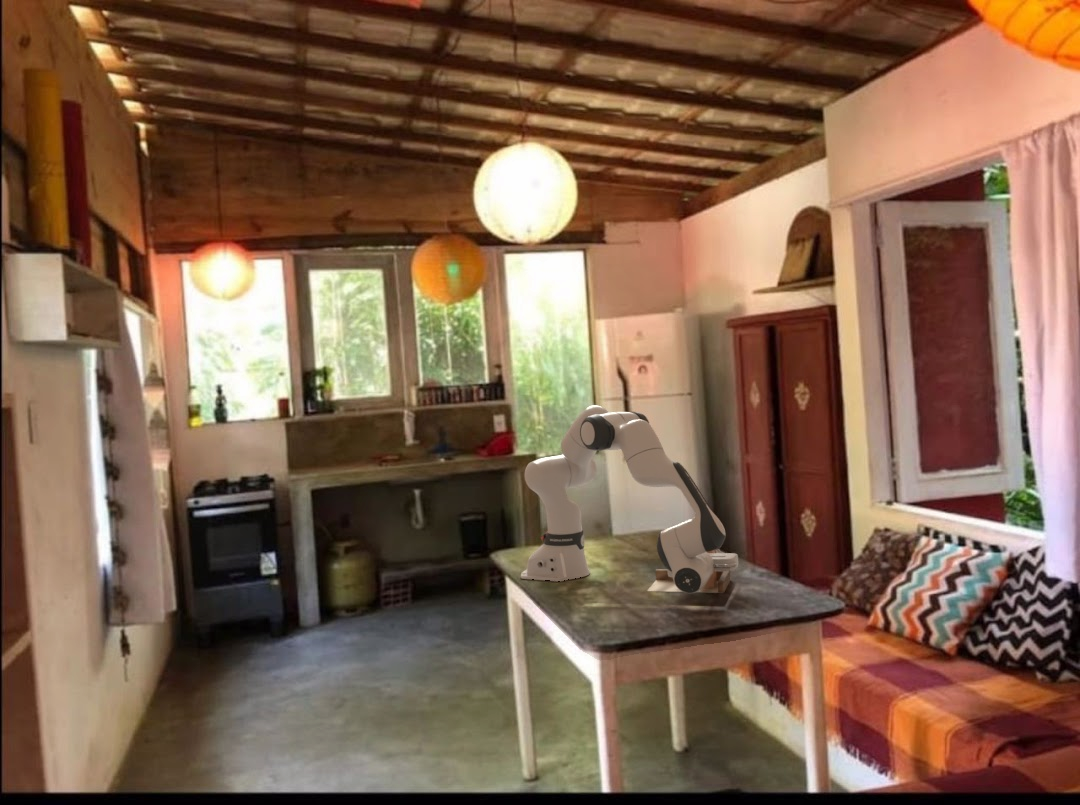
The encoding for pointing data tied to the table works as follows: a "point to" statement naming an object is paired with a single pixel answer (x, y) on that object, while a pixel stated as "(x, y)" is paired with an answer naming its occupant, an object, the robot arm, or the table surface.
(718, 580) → the board
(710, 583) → the terracotta block
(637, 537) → the table surface
